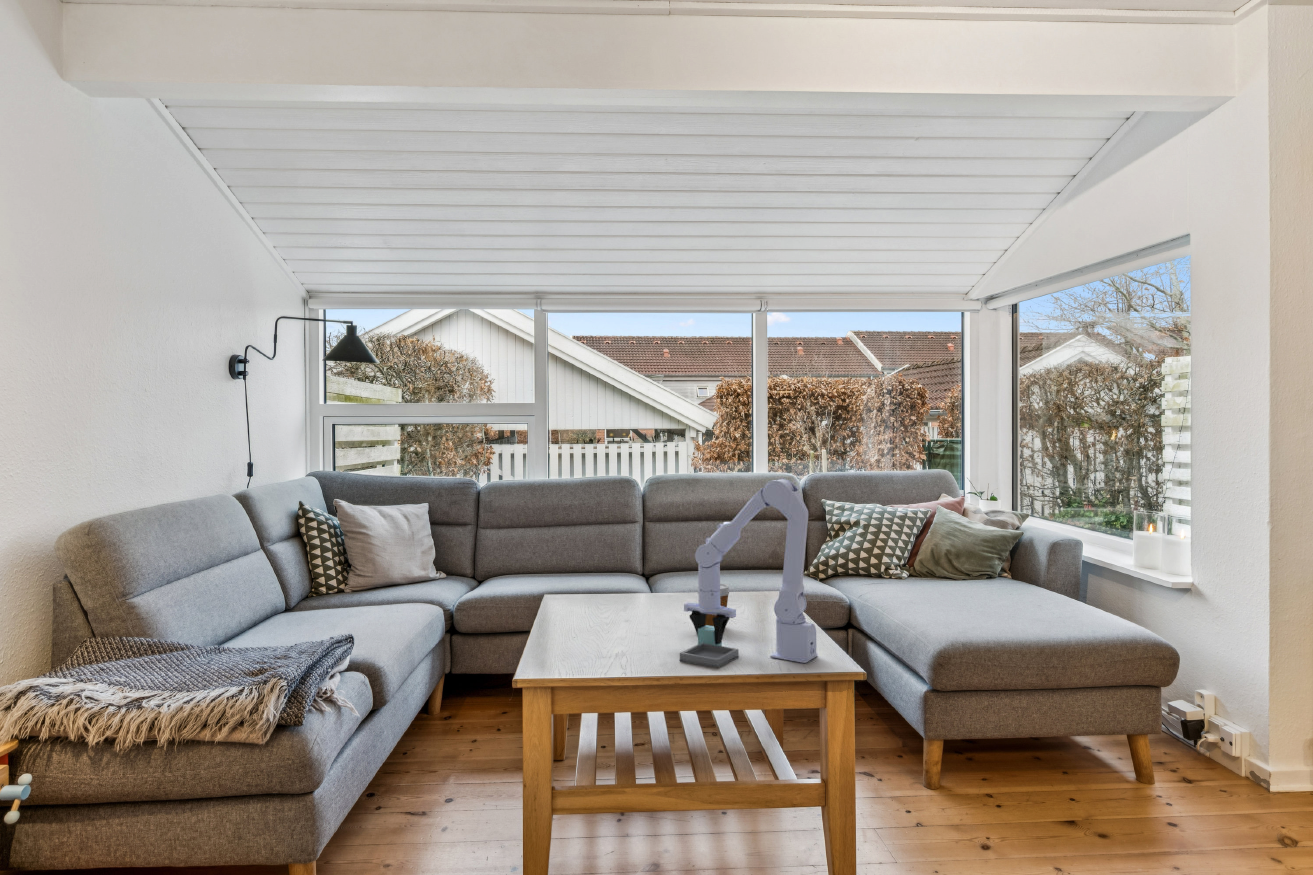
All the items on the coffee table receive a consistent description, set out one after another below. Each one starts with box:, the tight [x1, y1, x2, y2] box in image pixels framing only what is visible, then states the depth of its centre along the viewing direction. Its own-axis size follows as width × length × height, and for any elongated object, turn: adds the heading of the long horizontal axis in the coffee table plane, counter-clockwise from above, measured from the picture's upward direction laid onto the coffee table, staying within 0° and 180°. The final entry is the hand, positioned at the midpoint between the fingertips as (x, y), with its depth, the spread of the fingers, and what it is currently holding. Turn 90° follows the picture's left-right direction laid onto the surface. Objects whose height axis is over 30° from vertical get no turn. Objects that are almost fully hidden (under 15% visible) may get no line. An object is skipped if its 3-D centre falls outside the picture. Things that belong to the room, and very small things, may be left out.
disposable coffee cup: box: [696, 583, 731, 626], centre depth 207 cm, size 10×10×12 cm
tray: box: [679, 643, 739, 669], centre depth 177 cm, size 11×11×2 cm
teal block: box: [697, 625, 722, 646], centre depth 187 cm, size 4×4×5 cm
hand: (709, 641), depth 187 cm, fingers closed on teal block, 4 cm apart
